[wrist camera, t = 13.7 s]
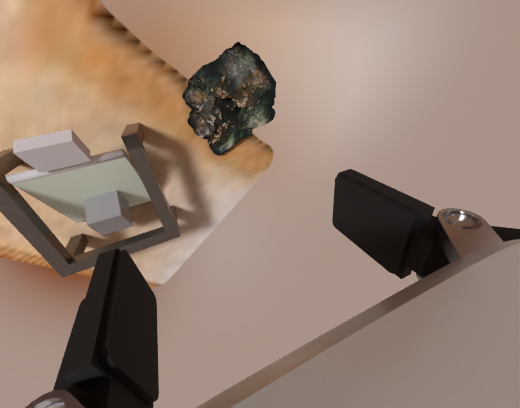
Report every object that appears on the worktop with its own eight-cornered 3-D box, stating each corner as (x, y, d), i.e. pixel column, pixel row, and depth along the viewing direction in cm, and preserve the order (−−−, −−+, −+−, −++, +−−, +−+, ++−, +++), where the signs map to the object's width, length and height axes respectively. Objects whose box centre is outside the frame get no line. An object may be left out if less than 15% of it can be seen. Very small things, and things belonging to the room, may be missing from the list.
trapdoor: (-30, 148, 25) (-31, 162, 24) (106, 122, 29) (108, 133, 28) (76, 215, 42) (77, 225, 41) (153, 193, 46) (155, 201, 45)
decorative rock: (233, 169, 46) (166, 124, 36) (225, 158, 50) (163, 115, 41) (294, 92, 42) (238, 19, 33) (279, 87, 47) (226, 22, 37)
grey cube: (83, 198, 37) (86, 225, 35) (116, 190, 38) (121, 214, 36) (99, 211, 41) (103, 235, 39) (128, 203, 43) (133, 225, 41)
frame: (2, 150, 33) (-38, 170, 26) (138, 122, 39) (136, 133, 32) (76, 244, 44) (62, 277, 37) (176, 212, 49) (180, 236, 42)
